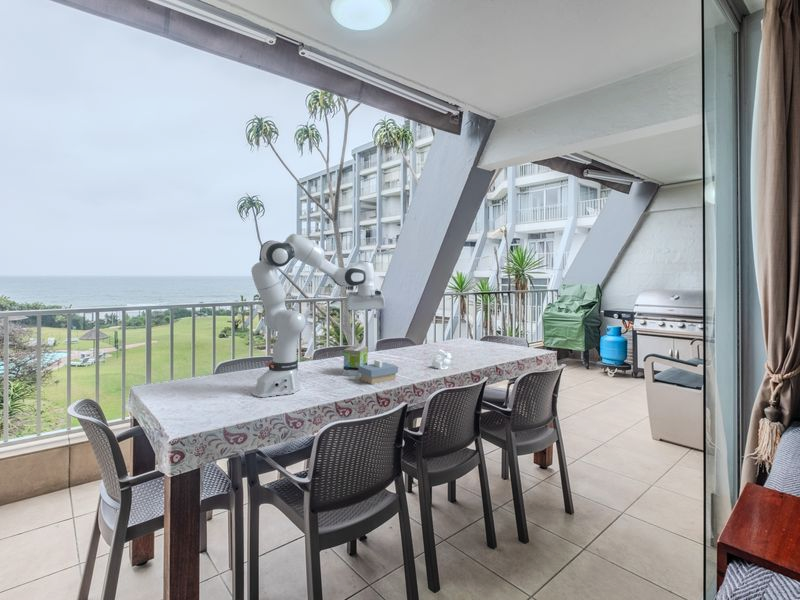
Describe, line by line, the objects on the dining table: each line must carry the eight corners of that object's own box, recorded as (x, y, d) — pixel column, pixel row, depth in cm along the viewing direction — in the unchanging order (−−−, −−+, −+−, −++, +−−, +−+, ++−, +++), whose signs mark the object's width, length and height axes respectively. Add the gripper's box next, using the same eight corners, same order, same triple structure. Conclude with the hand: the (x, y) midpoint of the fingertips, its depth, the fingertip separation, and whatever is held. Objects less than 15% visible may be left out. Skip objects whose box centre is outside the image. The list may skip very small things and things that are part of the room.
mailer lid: (371, 377, 201) (371, 364, 200) (358, 372, 211) (358, 360, 211) (397, 372, 211) (398, 360, 210) (384, 368, 221) (384, 356, 221)
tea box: (360, 376, 217) (360, 350, 217) (342, 375, 219) (342, 349, 219) (367, 370, 232) (367, 345, 231) (351, 369, 234) (351, 345, 233)
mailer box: (371, 384, 202) (372, 371, 202) (360, 379, 211) (360, 367, 211) (395, 380, 211) (395, 367, 211) (383, 375, 220) (383, 363, 220)
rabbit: (452, 368, 241) (452, 348, 240) (447, 371, 232) (448, 351, 232) (433, 366, 246) (433, 347, 245) (428, 369, 237) (428, 349, 236)
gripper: (346, 292, 202) (347, 319, 203) (385, 291, 206) (386, 318, 207) (345, 292, 208) (346, 318, 210) (384, 291, 212) (384, 316, 213)
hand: (366, 318), depth 208 cm, fingers open, 8 cm apart
